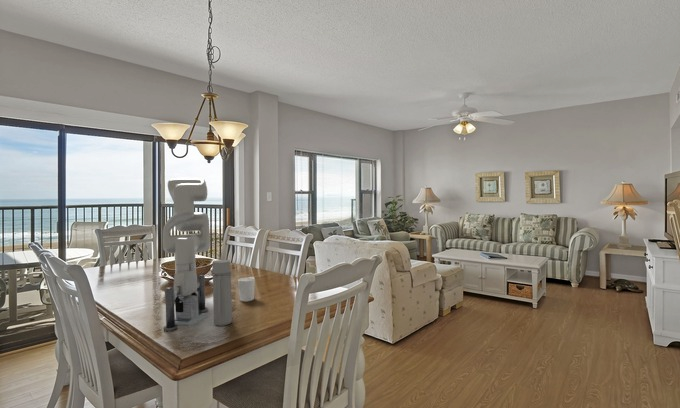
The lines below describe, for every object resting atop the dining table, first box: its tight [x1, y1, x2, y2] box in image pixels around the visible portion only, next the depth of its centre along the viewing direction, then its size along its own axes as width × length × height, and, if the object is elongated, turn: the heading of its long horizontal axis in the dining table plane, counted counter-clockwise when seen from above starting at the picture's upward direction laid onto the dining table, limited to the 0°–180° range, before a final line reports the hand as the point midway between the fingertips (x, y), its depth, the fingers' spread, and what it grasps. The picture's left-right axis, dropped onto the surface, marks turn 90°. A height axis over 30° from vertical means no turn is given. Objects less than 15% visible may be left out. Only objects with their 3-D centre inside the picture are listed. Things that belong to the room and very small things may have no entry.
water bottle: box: [210, 259, 233, 327], centre depth 142 cm, size 9×8×25 cm
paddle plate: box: [175, 312, 208, 326], centre depth 148 cm, size 11×11×1 cm
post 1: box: [163, 286, 179, 333], centre depth 138 cm, size 5×5×16 cm
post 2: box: [197, 274, 209, 313], centre depth 158 cm, size 5×5×16 cm
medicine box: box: [175, 295, 199, 319], centre depth 148 cm, size 8×4×9 cm, turn 74°
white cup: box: [237, 276, 256, 302], centre depth 175 cm, size 8×8×10 cm
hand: (187, 308), depth 148 cm, fingers open, 9 cm apart
